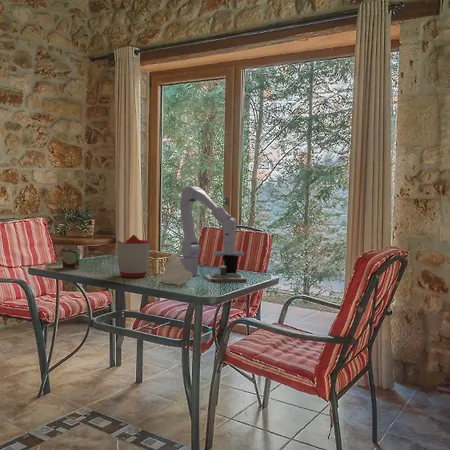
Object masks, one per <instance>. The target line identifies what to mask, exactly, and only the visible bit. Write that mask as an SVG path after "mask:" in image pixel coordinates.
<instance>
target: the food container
mask: <svg viewBox="0 0 450 450" xmlns="http://www.w3.org/2000/svg"><path fill="white" fill-rule="evenodd" d="M60 252H61V260H62V261H61V262H62V268H64V269H69V270H78V268H79V269H80V256H81V254H82V250H81V248H77V247H66V248H65V247H64V248H63V247H62V248H61V250H60Z"/></svg>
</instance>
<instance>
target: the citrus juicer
mask: <svg viewBox="0 0 450 450" xmlns="http://www.w3.org/2000/svg"><path fill="white" fill-rule="evenodd" d="M150 242H151V241H150V240H145V239H139V237H137V235H135V234H133V235H131V237H129V238H128V239H126V242H122V241H120V240H117V247H116V251H117V266H118V267H117V268H118V269H119V272H118V273H119V274H120V276H121V277H123V276H124V277H125V278H131V279H136V278H141V277H145V276H146V275H147V272H148V268H149V266H150V265H149V264H150Z"/></svg>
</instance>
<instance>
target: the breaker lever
mask: <svg viewBox="0 0 450 450" xmlns="http://www.w3.org/2000/svg"><path fill="white" fill-rule="evenodd" d="M219 273H220V274H218V275H227V274H226V266H223V265H219Z"/></svg>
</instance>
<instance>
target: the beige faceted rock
mask: <svg viewBox="0 0 450 450" xmlns="http://www.w3.org/2000/svg"><path fill="white" fill-rule="evenodd" d="M164 265H165V272H164V274H163V275H162V276H161V277H160V281H161V282H162V283H163V284H168V285H169V284H170V285H177V286H182V285H183V284H184V283H186V282H187V281H189V280H190V279H191V278H193V275H192V272H189V271H187V270H185V267H184V266H183V265H182V264H181V262H180V260H179V258H178V254H176V253H173V252H172V253H171V254H170V256H169V257H168V259H167V262H166V263H165V264H164Z"/></svg>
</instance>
